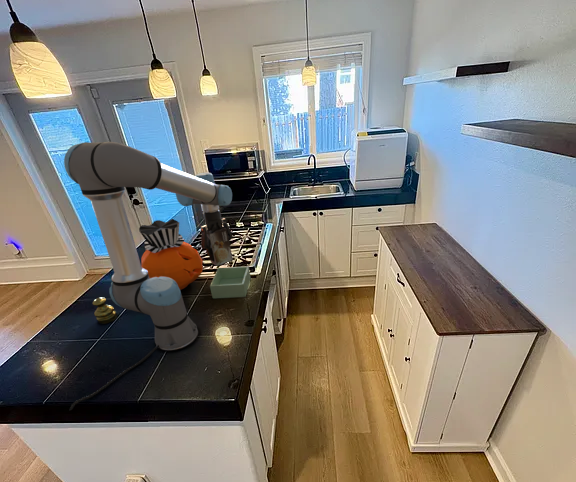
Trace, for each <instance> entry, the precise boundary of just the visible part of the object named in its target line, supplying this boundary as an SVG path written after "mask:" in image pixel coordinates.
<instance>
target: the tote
mask: <svg viewBox="0 0 576 482" xmlns="http://www.w3.org/2000/svg"><path fill="white" fill-rule="evenodd" d="M251 277H252V276H251V271H250V266H249V265H248V266H247V265H246V266H232V267H231V266H229V267H218V268H217V270H216V272H215V274H214V276H213V278H212V280H211V283H210V285H209V289H210V292H211V297H212V299H230V298H246V296H247V294H248V291H249V290H248V289H249V286H250V282H251Z"/></svg>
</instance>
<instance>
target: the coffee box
mask: <svg viewBox="0 0 576 482" xmlns="http://www.w3.org/2000/svg"><path fill="white" fill-rule="evenodd" d="M222 227H223V226H222ZM206 231H207V230H206ZM210 232H211V231H209V232H207V237H208V238H209V239H210V242H211V246H210V248H212V250H213V255H214V260H215V261H211V260H210V259H209V261H210V264H213V265H214V266H216V267H218V266H219V267H220V266H221V265H223V264H226V263H229V262H231V261H233V260H234V258H233V254H232V253H233V252H232V248H231V246H230V244H231V242H230V243H229V238H228V233H227V229H226V228H224V227H223V228H222V229H218V230H216V231H214V232H213V233H210Z"/></svg>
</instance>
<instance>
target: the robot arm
mask: <svg viewBox="0 0 576 482" xmlns="http://www.w3.org/2000/svg"><path fill="white" fill-rule="evenodd" d="M63 165H64V169H65V172H66V174H67V176H68V177H69V179H70V180H72V181H73V182H74V183H75V184H77V185H78V186H79V188H80V191H81V195H82V196H83V197H85V198H87V199H88V200H89V201H90V203H91V206H92V209H93V212H94V215H95V217H96V221H97V224H98V227H99V230H100V234H101V236H102V239H103V242H104V245H105V248H106V251H107V254H108V257H109V261H110V264H111V266H112V270H113V274H112V275H111V283H110V287H109V290H108V291H109V292H108V293H109V297H110V299H111V300H112V302H113V303H114V304H115V305H116V306H118V307H120V308H122V309H124V310H127V311H133V312H138V313H141V314H143V315H148V316H150V319H151V321H152V324H153V326H154V343H155V345H156V346H155V347H154V348H153V349H152V350H151V351H149V352H148V353H147V354H146V355H145V356H144V357H143V358H141V359H140V360H138V361H137V362H136V363H134V364H133V365H131V366H129V367H128V368H126V369H125V370H123V371H121V372H120V373H119V374H117V375H116V376H115V377H113V378H112V379H111V380H109V381H108V382H107V383H106V384H104V385H103V386H102V387H101V386H100V388H99V389H97V390H95V391H94V392H92V393H91V394H89V395H86V396H84V397H81V398H79V399H77V400H75V401H74V402H73V403H72V404H71V406H70V407H69V410H68V411H73V409H74V408H75V407H76V405H78V404H79V403H81V402H84V401H86V400H89V399H90V398H93V397H95V396H96V395H97V394H99V393H100V392H102V391H103V390H105V389H106V388H107V387H108V386H110V385H112V384H113V383H114V382H115V381H116V380H118V379H120V378H121V377H122V376H124V375H125V374H126V373H128V372H129V371H131V370H133V369H134V368H136V367H137V366H139V365H141V364H142V363H143V362H144V361H145V360H147V359H148V358H150V356H151V355H152V354H153V353H154V352H155V351H156V350H157V349H158V350H160V351H162V352H164V353H165V352H167V353H173V352H178V351H182V350H184V349H187V348H189V347H190V346H191V345H192V344H193V343H195V341H197V339H198V337H199V329H198V326H197V324H196V323H195V322H194V321H193V319H191V317H190V316H189V315H188V312H187V309H186V304H185V303H184V302H185V301H184V298H183V295H182V292H181V290H180V289H179V287H178V284H177V283H176V281H174V280H173V279H171V278H169V277H163V276H160V277H153V278H149V275H148V271H147V270H146V269H144V268H142V264H141V260H140V257H139V253H138V250H137V247H136V246H137V245H136V242H135V239H134V236H133V233H132V228H131V225H130V222H129V219H128V214H127V212H126V211H127V210H126V208H125V205H124V201H123V198H122V197H123V195H124V193H125V191H126V188H140V189H145V190H149V191H152V190H155V189H158V190H161V191H165V192H168V193H172V194H175V197H176V201H177V202H178V203H179V204H180V205H181V206H183V207H190V206H192V205H200V206H201V211H202V214H203V220H204V221H205V223H204V225H200V226H199V229H200V237H201V238H200V239H201V243H200V244H201V247H200V248H202V249H205V250H206V255H207V256H208V258H209V261H210V260H211V261H215V260H214V255H213V250H212V248H210V246H211V242H210V239H209V238H208V237H207V232H209V231H211V232H210V233H213V232H214V231H216V230H218V229H222V228H223V227H224V228H226V229H227V233H228V238H229V243H230V247H231V240H232V238H233V233H232V231H231V228H230V226H229V224H228V219H227V218H225V217H222V215H221V210H220V207H227V206H230V204H231V202H232V200H233V192H232V189H231V187H229V185H225V184H216V182H215V180H214V175H213V174H212V173H211V172H199V173H196V174H195V175H193V174H190V173H187V172H185V171H182V170H180V169H178V168H175V167H172V166H171V165H168V164H165V163H162V162H161V161H160V160H159V158H158V157H156V156H154V155H151V154H149V153H147V152H144V151H142V150H139V149H137V148H134V147H133V146H129V145H126V144H123V143H119V142H115V141H104V142H102V141H100V142H99V141H97V142H96V141H95V142H94V141H93V142H88V141H87V142H86V141H85V142H79V143H76V144H74V145H72V146H70V147H69V148H68V149H67V151H66V152H65V154H64V158H63ZM206 230H207V231H206ZM211 261H210V262H211Z"/></svg>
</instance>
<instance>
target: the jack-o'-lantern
mask: <svg viewBox="0 0 576 482" xmlns="http://www.w3.org/2000/svg"><path fill="white" fill-rule="evenodd" d="M138 232H139V234H140V235H141V236H142V237H143V239H144V240H145V241H144V244H143V245H144V250H145V251H144V252H143V253H142V255H141V258H140V259H141V260H140V263H141V267H142V268H144V269H146V270H147V271H148V275H149V278H153V277H160V276H163V277H169V278H171V279H173V280H174V281H176V283H177V284H178V287H179V289H180V291H181V290H182V291H183V290H184V289H186V288H187V287H188V285H190V284H193V283H194V282H195V281H196V280H197V279H198V278H199V277H200V276H201V274H202V273H203V270H204V265H203V264H204V263H203V262H204V260H203V258H202V257H201V255H200V253H199V251H198V250H197V249H196V248H194V247H193V246H192V245H191V244H190V243H189V242H186V239H185V238H184V236H183V235H182V234H180V222H179V221H178V220H176V219H174V218H170V219H169V220H168V221H163V220H160V219H156V220H154V221H153V222H152V223H151V224H148V225H147V224H141V225H140V226H139V228H138Z"/></svg>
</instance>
